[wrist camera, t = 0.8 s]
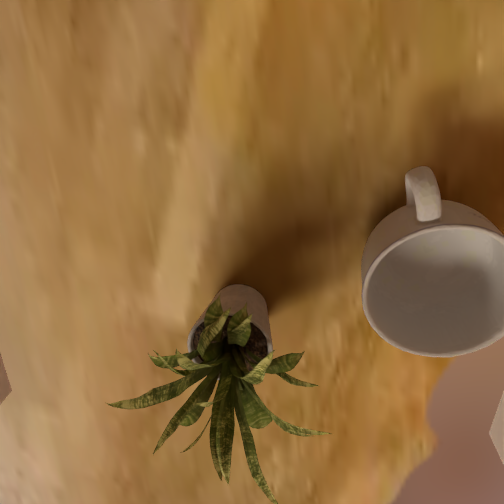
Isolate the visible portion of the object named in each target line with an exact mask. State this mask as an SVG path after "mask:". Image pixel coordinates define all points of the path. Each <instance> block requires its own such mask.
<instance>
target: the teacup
mask: <svg viewBox="0 0 504 504" xmlns="http://www.w3.org/2000/svg"><path fill="white" fill-rule="evenodd" d="M405 187H406V195H407V204H406V205H405V206H403V207H401V208H399V209H397V210H395V211H394V212H392V213H390V214H389V215H388V216H386V217H385V218H384V219H383V220H382V221H380V223H379V224H378V225H377V226H376V227H375V228H374V230H373V231H372V232H371V234H370V236H369V238H368V240H367V242H366V245H365V248H364V251H363V256H362V265H361V273H362V304H363V309H364V312H365V315H366V317H367V319H368V321H369V323H370V325H371V326H372V328H373V329H374V330H375V331H376V332H377V333H378V334H379V336H380V337H381V338H383V339H384V340H385V341H386V342H388V343H389V344H391V345H393V346H395V347H397V348H399V349H401V350H403V351H406V352H409V353H413V354H416V355H422V356H429V357H454V356H458V355H464V354H468V353H471V352H475V351H477V350H480V349H482V348H485V347H487V346H489V345H491V344H493V343H494V342H496V341H497V340H499V339H500V338H502V337H503V336H504V235H503V234H502V233H501V232H500V231H499V230H498V228H497V227H496V226H495V225H494V224H493V223H492V222H491V221H489V220H488V219H487V218H486V217H485V216H483V215H482V214H481V213H479V212H478V211H476V210H475V209H473V208H471V207H468V206H466V205H464V204H461V203H458V202H454V201H449V200H441V196H440V191H439V187H438V184H437V180H436V177H435V175H434V173H433V171H432V170H431V169H430V168H429V167H427V166H420V167H417V168H414V169H411V170H409V171H408V172H407V173H406V175H405Z"/></svg>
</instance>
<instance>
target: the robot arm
mask: <svg viewBox="0 0 504 504" xmlns="http://www.w3.org/2000/svg"><path fill="white" fill-rule="evenodd" d="M11 391H12V390H11V386H10V383H9V380H8V377H7V373H6V370H5V367H4V364H3V360H2V357H1V354H0V404H1V403H2V402H3V400H4V399H5V398H6V397H7V396H8V394H9V393H10V392H11ZM489 435H490V437H491V439H492V441H493V443H494V445H495V447H496V450H497V451H498V454H499V456H500V458H501V460H502V462H503V465H504V391H503V394H502V397H501V400H500V403H499V406H498V409H497V412H496V415H495V417H494V420H493V423H492V426H491V429H490V432H489Z"/></svg>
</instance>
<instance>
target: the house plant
mask: <svg viewBox="0 0 504 504" xmlns="http://www.w3.org/2000/svg"><path fill="white" fill-rule="evenodd" d="M187 345H188V351H189V353H186V354H181V353H179V352H178V351H177V349H176V355H173V356H164V357H161V356H160V355H159V354H157V353H156V352H155V351H154V350H153V351H154V352H155V353H156V354H157V355H158V356H159V357H153V356H150V355H149V354H148V355H149V357H150V358H151V360H152V361H153V362H154V364H155V365H156V366H159V367H161V368H169V369H170V370H172V371H173V372H175V373H177V374H180V375H183V376H185V377H183V378H181V379H179V380H177V381H175V382H172V383H169V384H167V385H164V386H160V387H157V388H154V389H152V390H151V391H149V392H147V393H146V394H144V395H142V396H140V397H138V398H135V399H130V400H123V401H119V402H116V403H112V404H108V403H106V404H108V405H110V406H113V407H117V408H122V409H139V408H145V407H148V406H152V405H155V404H158V403H161V402H164V401H167V400H170V399H172V398H174V397H176V396H178V395H180V394H181V393H182V392H183V391H185V390H186V389H187V388H188V387H189V386H191V385H193V384H194V383H196V382H197V381H199V380H201V379H202V378H204V377H205V376H206V375H207V377H206V378H205V379H204V380H203V381H202V382H201V384H200V385H199V386H198V387H197V388H196V390H195V391H194V392H193V393H192V395H191V396H190V397H189V399H188V400H187V401H186V403H185V404H184V405H183V406H182V407H181V408H180V409H179V410H178V411H177V413H176V414H175V415H174V417H173V418H172V419H171V421H170V422H169V424H168V425H167V427H166V429H165V431H164V432H163V434H162V436H161V438H160V440H159V441H158V444H157V446H156V448H155V450H154V453H155V452H156V451H157V450H158V449H159V448H160V447H161V446H162V445H163V443H164V442H165V440H166V439H167V438H168V437H170V436H171V435H172V434H173V433H174V432H175V430H176V429H177V427H178V426H179V425H182V426H190V425H192V424H194V423H195V422H196V421H197V420H198V419H199V417H200V416H201V414H202V412H203V410H204V408H205V407H209V406H210V405H212V404H213V407H212V415H211V416H212V417H210V419H211V427H210V448H211V454H212V459H213V463H214V466H215V469H216V471H217V472H218V475H219V477H220V479H221V481H222V474H223V476H224V477H225V479H226V481H227V483H228V484H229V476H230V465H231V452H232V443H233V435H234V426H235V424H234V408H235V412H236V416H237V420H238V423H239V426H240V431H241V435H242V440H243V445H244V450H245V454H246V458H247V462H248V465H249V468H250V471H251V474H252V477H253V478H254V480H255V481H256V483H257V484H258V486H259V487H260V488H261V489H262V491H263V492H264V493H265V494H266V496H267V497H268V498H269V499H270V500H271V501H272V502H273V503H274V504H278V503H277V501H276V500H275V498H274V496H273V494H272V493H271V491H270V490H269V487H268V485H267V483H266V481H265V479H264V476H263V474H262V472H261V469H260V466H259V463H258V459H257V454H256V449H255V445H254V440H253V436H252V433H251V431H250V428H249V426H250V427H252V428H257V429H259V428H264V427H266V426H267V425H268V424H269V423H270V422H271V421H272V419H273V420H274V421H275V422H276V424H277V425H279V426H280V427H281V428H282V429H283V430H284V431H286V432H289V433H291V434H294V435H299V436H311V435H323V434H331V433H327V432H320V431H314V430H309V429H304V428H300V427H297V426H294V425H292V424H289V423H287V422H285V421H283V420H281V419H280V418H278V417H277V416H275V415H274V414H273V413H272V412H270V411H269V410H268V409H267V408H266V406H265V405H264V404H263V402H262V401H261V400H260V398H259V397H258V395H257V394H256V392H255V390H254V387H253V384H259V383H261V382H262V381H263V378H264V376H265V373H270V374H277V375H279V376H280V377H281V378H283V379H284V380H286V381H287V382H289V383H290V384H293V385H298V386H305V387H313V386H318V385H315V384H311V383H307V382H304V381H300V380H298V379H296V378H293V377H291V376H289V375H288V374H286V373H285V372H288V371H290V370H292V369H293V368H294V367H295V366H296V365H297V363H298V362H299V360H300V359H301V357H302V355H303V353H304V352H302V353H291V354H286V355H283V356H280V357H278V358H275V359H273V360H272V357H273V348H272V339H271V332H270V324H269V317H268V310H267V304H266V302H265V299H264V298H263V296H262V295H261V294H260V293H259V292H258V291H257V290H255V289H254V288H251V287H249V286H246V285H242V284H234V285H230V286H227V287H225V288H223V289H221V290H220V291H219V292H218V293H217V295H216V296H215V297H214V299H213V300H212V301H211V303H210V304H209V306H208V307H207V308H206V310H205V311H204V312H203V314H202V315H201V316H200V318H199V319H198V321H197V322H196V323H195V325H194V326H193V328H192V330H191V331H190V333H189V337H188V343H187ZM274 351H275V350H274ZM191 360H192V361H193V362H192V361H191ZM179 365H180V366H181V367H182V368H183V369H187V370H184V371H183V370H176V369H174V368H173V367H176V366H179ZM217 380H219V383H218V387H217V390H216V394H215V397H214V400H213V402H208V400H209V398H210V396H211V394H212V392H213V389H214V387H215V384H216V382H217ZM210 419H209V421H210ZM209 421H208V423H209ZM208 423H207V424H208ZM207 424H206V426H207ZM206 426H205V428H206ZM205 428H204V430H205ZM204 430H203V431H202V433H201V434H200V435H199V437H198V438H197V439H196V440H195V441H194V442H193V443H192V444H191V445H190V446H189V447H188V448H187V449H186V450H184V451H183V452H185V451H187V450H188V449H190V448H191V447H192V446H194V444H195V443H196V442H197V441H198V440H199V438H200V437H201V436H202V434H203V432H204ZM301 433H303V434H301ZM306 434H310V435H306ZM154 453H153V454H154ZM180 453H181V452H180Z"/></svg>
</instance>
